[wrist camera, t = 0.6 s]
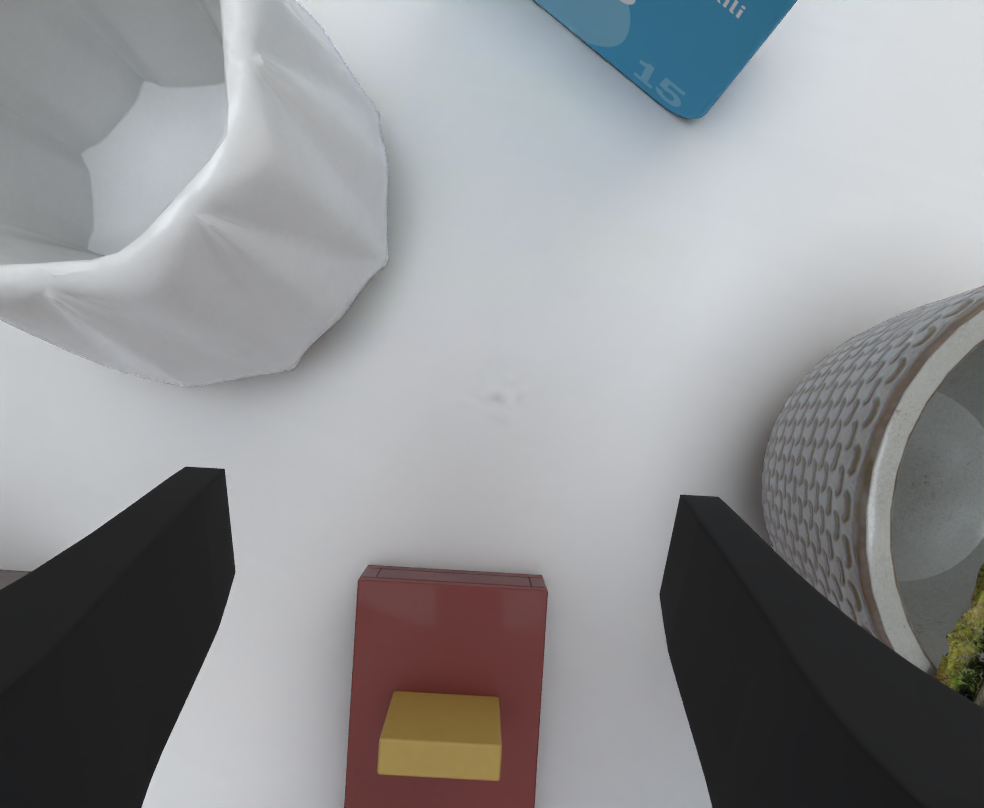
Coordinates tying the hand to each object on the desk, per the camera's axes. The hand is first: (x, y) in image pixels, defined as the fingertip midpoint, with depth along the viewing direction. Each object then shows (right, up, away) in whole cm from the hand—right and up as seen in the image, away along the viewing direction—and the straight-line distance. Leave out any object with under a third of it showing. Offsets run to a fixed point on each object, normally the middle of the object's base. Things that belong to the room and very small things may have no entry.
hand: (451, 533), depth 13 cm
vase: (-10, +10, +20) cm, 25 cm away
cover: (-1, -11, +18) cm, 22 cm away
